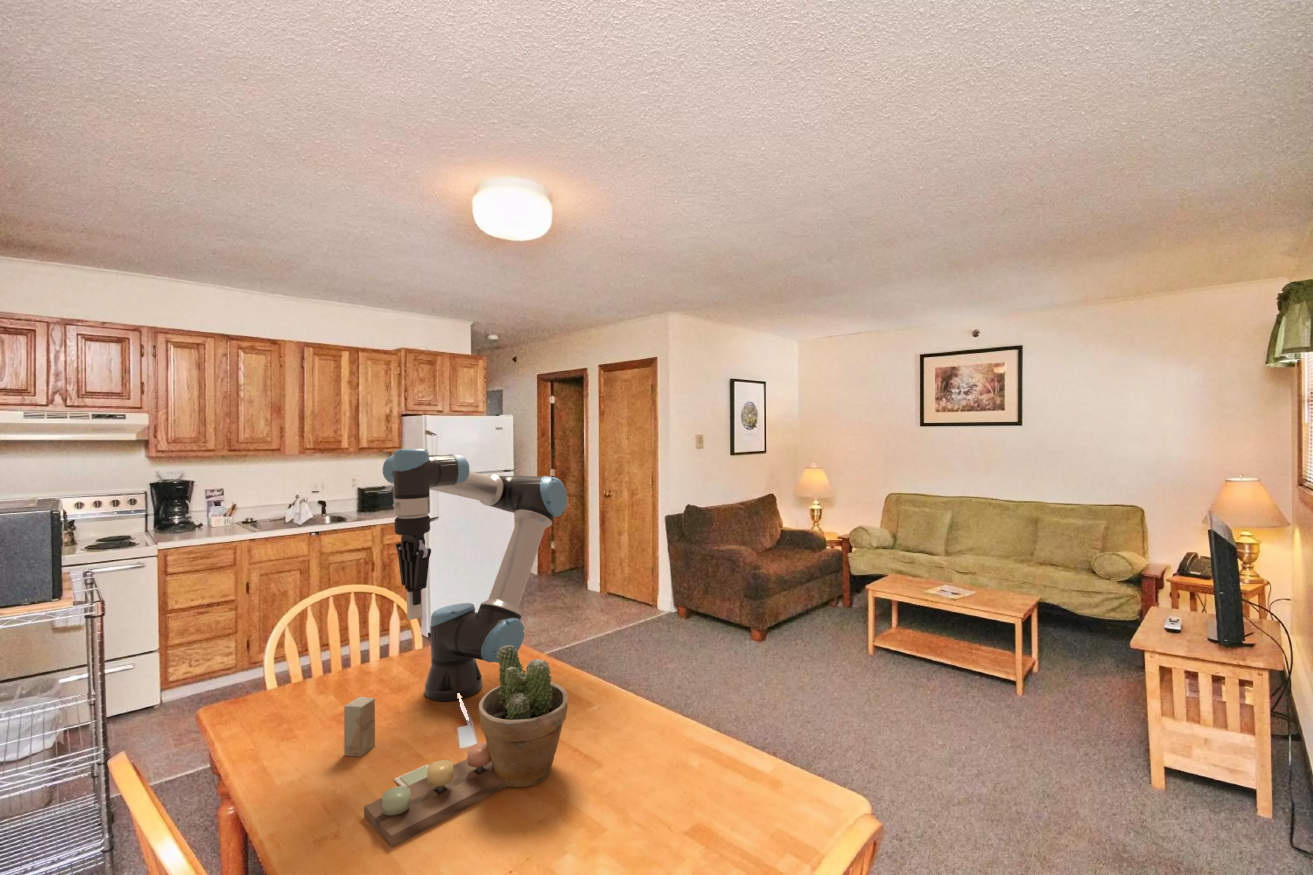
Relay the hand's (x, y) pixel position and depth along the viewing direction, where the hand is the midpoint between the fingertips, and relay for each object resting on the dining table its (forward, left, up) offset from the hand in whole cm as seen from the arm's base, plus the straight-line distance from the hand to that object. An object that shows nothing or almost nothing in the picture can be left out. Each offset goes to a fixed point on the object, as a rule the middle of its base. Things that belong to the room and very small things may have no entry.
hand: (414, 617), depth 134 cm
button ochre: (+6, +24, -27) cm, 37 cm away
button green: (+15, +24, -29) cm, 40 cm away
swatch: (+6, +14, -29) cm, 33 cm away
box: (+10, -7, -29) cm, 32 cm away
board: (+6, +24, -29) cm, 38 cm away
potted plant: (-10, +28, -29) cm, 42 cm away
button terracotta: (-2, +24, -27) cm, 36 cm away
